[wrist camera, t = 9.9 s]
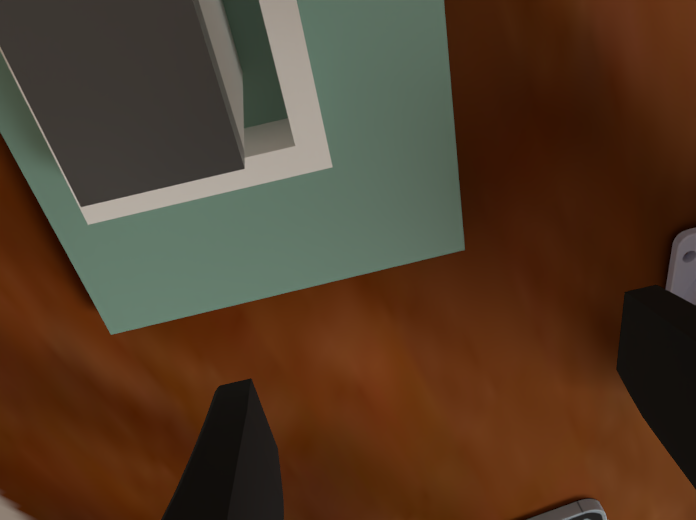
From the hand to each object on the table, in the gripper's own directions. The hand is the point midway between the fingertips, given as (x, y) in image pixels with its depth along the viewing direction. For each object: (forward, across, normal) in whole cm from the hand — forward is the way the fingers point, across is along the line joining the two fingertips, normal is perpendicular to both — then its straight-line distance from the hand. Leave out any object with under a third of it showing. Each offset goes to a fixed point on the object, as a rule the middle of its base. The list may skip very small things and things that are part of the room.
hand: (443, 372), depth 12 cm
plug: (+8, +4, -6) cm, 11 cm away
